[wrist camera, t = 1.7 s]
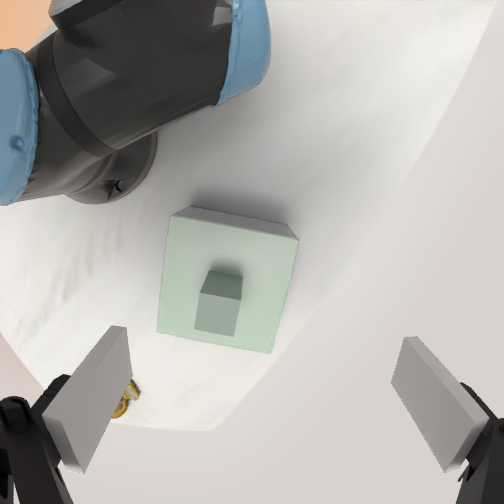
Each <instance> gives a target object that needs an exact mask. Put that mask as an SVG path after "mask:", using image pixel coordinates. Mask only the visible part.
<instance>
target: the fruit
mask: <svg viewBox="0 0 504 504" xmlns="http://www.w3.org/2000/svg"><path fill="white" fill-rule="evenodd" d="M138 398H139V394H138V393H137V390H136V387H135V385H133V383H132V382H131V381H130V382H129V384H128V386H127V388H126V390H125V392H124V394H123V396H122V398H121V400H120V402H119V404H118V406H117V408H116V410H115V412H114V414H113V416H112V418H113V419H114V418H119V417H120V416H122V415H123V414H124V413H125V412H126V410H127V407H128V405H127V404H128V400H127V399H131V400H137V399H138Z"/></svg>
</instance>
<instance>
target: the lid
mask: <svg viewBox="0 0 504 504" xmlns="http://www.w3.org/2000/svg"><path fill="white" fill-rule="evenodd" d="M298 244H299V240H298V238H293V237H288V236H283V235H278V234H273V233H268V232H263V231H258V230H252V229H247V228H242V227H237V226H232V225H226V224H221V223H216V222H211V221H205V220H200V219H194V218H189V217H184V216H178V215H171V216H170V221H169V228H168V235H167V242H166V249H165V256H164V264H163V272H162V281H161V289H160V299H159V308H158V319H157V330H156V332H159V333H164V334H168V335H173V336H177V337H182V338H186V339H191V340H196V341H201V342H206V343H211V344H216V345H222V346H227V347H233V348H238V349H244V350H250V351H256V352H263V353H269V354H271V353H272V350H273V346H274V342H275V338H276V334H277V330H278V326H279V323H280V319H281V315H282V311H283V307H284V303H285V299H286V294H287V290H288V286H289V282H290V278H291V274H292V270H293V265H294V261H295V257H296V252H297V248H298Z"/></svg>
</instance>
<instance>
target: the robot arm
mask: <svg viewBox="0 0 504 504" xmlns="http://www.w3.org/2000/svg"><path fill="white" fill-rule="evenodd" d="M48 13H49V15H50V17H51V18H52V20H53V22H54V23H55V25H56V26H57V28H58V30H57V31H55V32H54V33H52V34H51V35H50V36H48V37H47V38H45V39H44V40H43V41H41V42H40V43H38V44H37V45H36V46H35V47H33V48H32V49H31V50H29V51H28V52H26V53H24V52H22V51H20V50H18V49H16V48H10V49H7V50H3V49H0V205H1V206H8V205H9V204H12V203H15V202H19V201H25V200H30V199H36V198H42V197H49V196H55V195H62V194H64V195H66V196H68V197H70V198H72V199H73V200H76V201H78V202H81V203H86V204H102V203H107V202H112V201H115V200H117V199H120V198H122V197H124V196H125V195H127V194H128V193H130V192H131V191H132V190H134V189H135V188H136V187H137V186H138V185H139V184H140V182H141V181H142V180H143V178H144V177H145V175H146V174H147V172H148V170H149V168H150V166H151V164H152V161H153V158H154V154H155V150H156V130H158V129H160V128H162V127H165V126H167V125H169V124H171V123H173V122H175V121H177V120H179V119H182V118H184V117H186V116H188V115H191V114H193V113H195V112H197V111H200V110H202V109H204V108H207V107H209V106H210V107H212V108H214V107H217V106H219V105H220V104H221V103H223V102H224V100H226V99H228V98H231V97H233V96H235V95H238V94H240V93H242V92H245V91H247V90H249V89H252V88H253V87H255V86H256V85H258V84H259V83H260V81H261V80H262V78H263V77H264V76H265V74H266V72H267V70H268V67H269V62H270V56H271V34H270V25H269V18H268V13H267V8H266V3H265V0H52V1H51V4H50V7H49V11H48ZM132 376H133V374H132V368H131V361H130V353H129V346H128V338H127V329H126V327H119V326H111V327H110V328H109V329H108V330H107V332H106V333H105V334H104V335H103V337H102V338H101V339H100V340H99V341H98V343H97V344H96V345H95V346H94V348H93V349H92V350H91V351H90V353H89V354H88V355H87V356H86V358H85V359H84V360H83V361H82V363H81V364H80V365H79V367H78V368H77V369H76V370H75V372H74V373H73V374H72V376H70V375H66V374H63V375H61V376H59V377H58V378H56V379H54V380H53V381H52V383H51V384H50V385H49V386H48V389H46V390H45V391H44V393H43V395H41V396H40V398H39V399H38V400H37V401H36V403H35V404H34V405H33V406H32V407H31V408H30V406H29V404H28V402H27V400H25V399H24V398H22V397H17V396H10V397H7V398H4V399H3V400H1V401H0V504H14V502H13V494H14V491H13V490H14V484H15V488H16V491H17V495H18V499H19V502H20V504H73V501H72V499H71V497H70V495H69V492H68V490H67V488H66V485H65V483H64V480H63V478H62V475H61V473H60V471H59V468H58V467H57V466H58V464H59V462H60V460H61V459H62V461H63V463H64V465H65V467H66V468H67V469H69V470H73V471H75V472H79V473H82V474H85V471H86V469H87V467H88V465H89V463H90V461H91V458H92V457H93V454H94V452H95V450H96V448H97V446H98V444H99V442H100V440H101V438H102V436H103V434H104V432H105V430H106V428H107V425H108V424H109V422H110V420H111V418H112V416H113V414H114V412H115V410H116V408H117V406H118V404H119V402H120V400H121V398H122V396H123V394H124V392H125V390H126V388H127V386H128V384H129V382H130V380H131V378H132ZM391 384H392V385H393V387H394V389H395V390H396V392H397V393H398V395H399V397H400V398H401V400H402V402H403V403H404V405H405V406H406V408H407V410H408V411H409V413H410V414H411V416H412V418H413V420H414V421H415V423H416V425H417V426H418V428H419V430H420V431H421V433H422V435H423V436H424V438H425V440H426V441H427V443H428V445H429V447H430V448H431V450H432V452H433V454H434V455H435V457H436V459H437V461H438V462H439V464H440V466H441V468H442V469H443V471H444V473H446V472H449V471H452V470H455V469H458V468H460V466H461V465H462V463H463V461H464V460H465V458H466V459H467V460H468V462H469V465H468V466H467V467H466V469H465V470H464V472H463V473H462V475H461V476H460V477H459V479H458V482H460V481H461V479H462V478H463V481H462V485H461V488H460V491H459V495H458V498H457V501H456V504H504V418H501V419H498V418H497V417H496V416H495V415H494V414H493V412H492V411H491V410H490V409H489V408H488V407H487V405H486V404H485V403H484V402H483V401H482V400H481V399H480V397H479V396H477V394H476V393H475V392H474V391H473V390H472V388H470V387H469V386H467V385H466V384H464V383H462V382H461V383H459V382H458V381H457V380H456V378H455V377H454V376H453V375H452V374H451V373H450V372H449V371H448V370H447V368H446V367H445V366H444V365H443V364H442V363H441V362H440V361H439V360H438V358H437V357H436V356H435V355H434V354H433V353H432V352H431V351H430V350H429V349H428V348H427V347H426V345H424V343H423V342H422V341H421V340H420V339H419V338H418V337H417V336H415V337H404V340H403V344H402V347H401V351H400V355H399V358H398V361H397V365H396V368H395V371H394V375H393V378H392V381H391Z"/></svg>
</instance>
